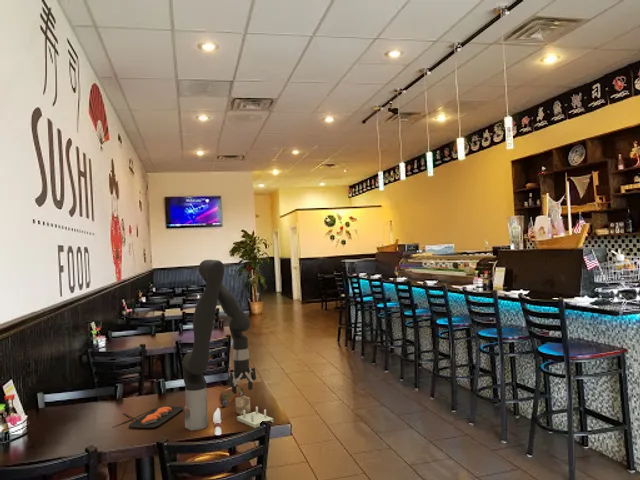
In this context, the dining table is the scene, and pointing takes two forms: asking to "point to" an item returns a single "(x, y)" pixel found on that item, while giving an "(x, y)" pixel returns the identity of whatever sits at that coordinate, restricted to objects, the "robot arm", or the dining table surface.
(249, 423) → the plate
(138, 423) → the sushi plate
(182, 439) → the dining table surface
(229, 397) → the tin
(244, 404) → the maple block
